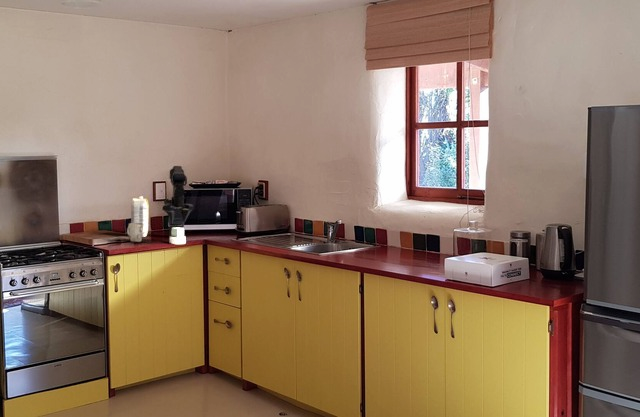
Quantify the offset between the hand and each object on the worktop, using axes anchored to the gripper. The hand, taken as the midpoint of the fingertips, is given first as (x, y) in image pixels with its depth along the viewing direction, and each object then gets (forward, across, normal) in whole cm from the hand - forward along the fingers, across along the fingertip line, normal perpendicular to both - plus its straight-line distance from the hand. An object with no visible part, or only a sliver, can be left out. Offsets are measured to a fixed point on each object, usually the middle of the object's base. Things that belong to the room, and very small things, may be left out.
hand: (177, 222), depth 427 cm
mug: (+12, +14, -22) cm, 29 cm away
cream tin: (+12, 0, 0) cm, 12 cm away
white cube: (+8, 0, 0) cm, 8 cm away
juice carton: (+12, +1, -33) cm, 35 cm away
